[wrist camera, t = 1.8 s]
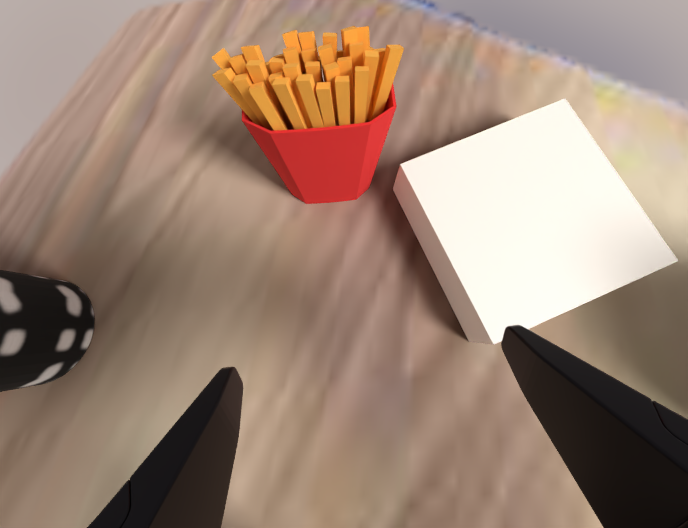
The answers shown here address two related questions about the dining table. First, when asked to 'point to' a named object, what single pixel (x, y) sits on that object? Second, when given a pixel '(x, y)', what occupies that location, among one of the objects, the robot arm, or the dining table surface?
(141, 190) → the dining table surface
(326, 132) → the french fries
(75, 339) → the white-spotted black cylinder
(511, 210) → the white flat square block
